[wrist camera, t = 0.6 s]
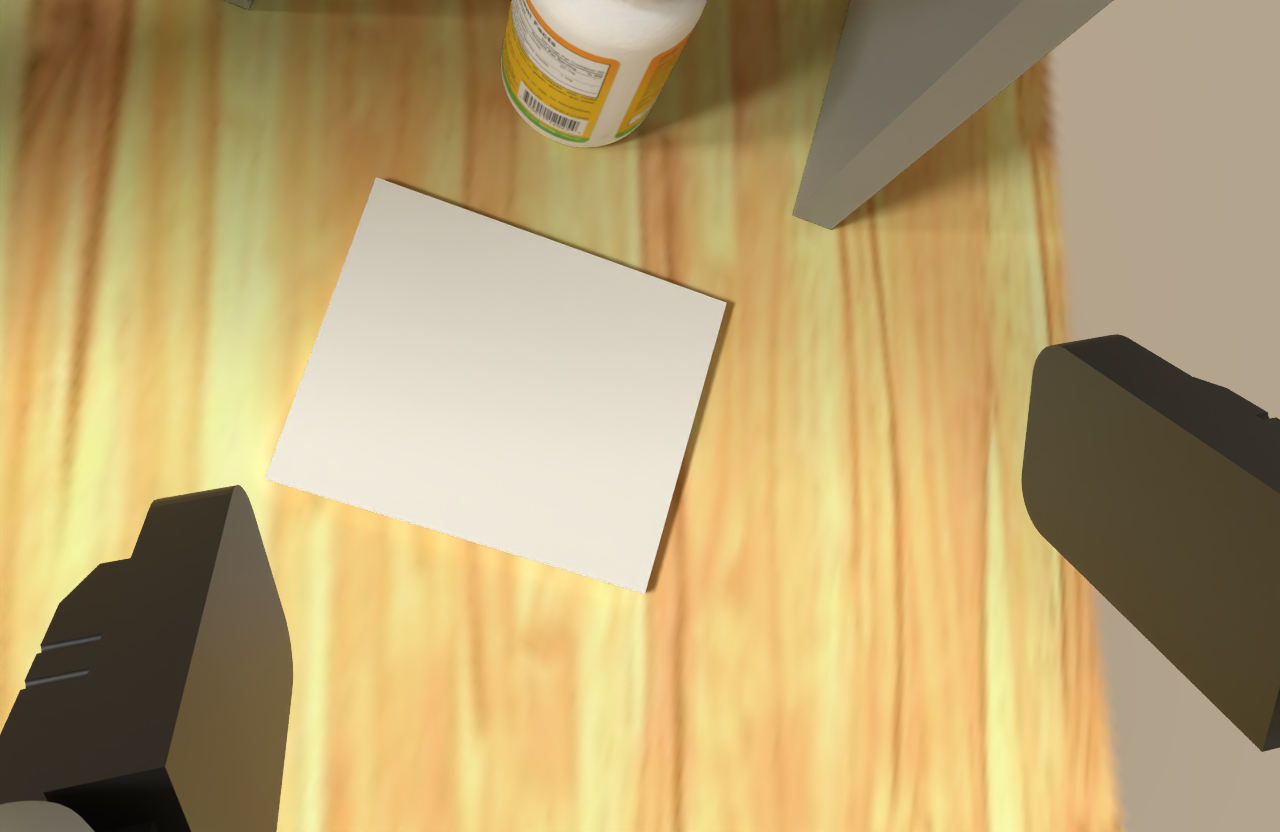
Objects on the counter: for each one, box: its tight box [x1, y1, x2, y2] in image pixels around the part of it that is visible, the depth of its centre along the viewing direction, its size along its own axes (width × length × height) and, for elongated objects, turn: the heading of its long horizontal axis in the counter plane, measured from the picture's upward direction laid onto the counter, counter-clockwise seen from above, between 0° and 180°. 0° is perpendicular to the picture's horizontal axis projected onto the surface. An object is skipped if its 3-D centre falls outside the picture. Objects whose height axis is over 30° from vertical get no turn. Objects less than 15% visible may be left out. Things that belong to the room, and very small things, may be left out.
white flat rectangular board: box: [265, 177, 727, 594], centre depth 33 cm, size 12×10×1 cm
